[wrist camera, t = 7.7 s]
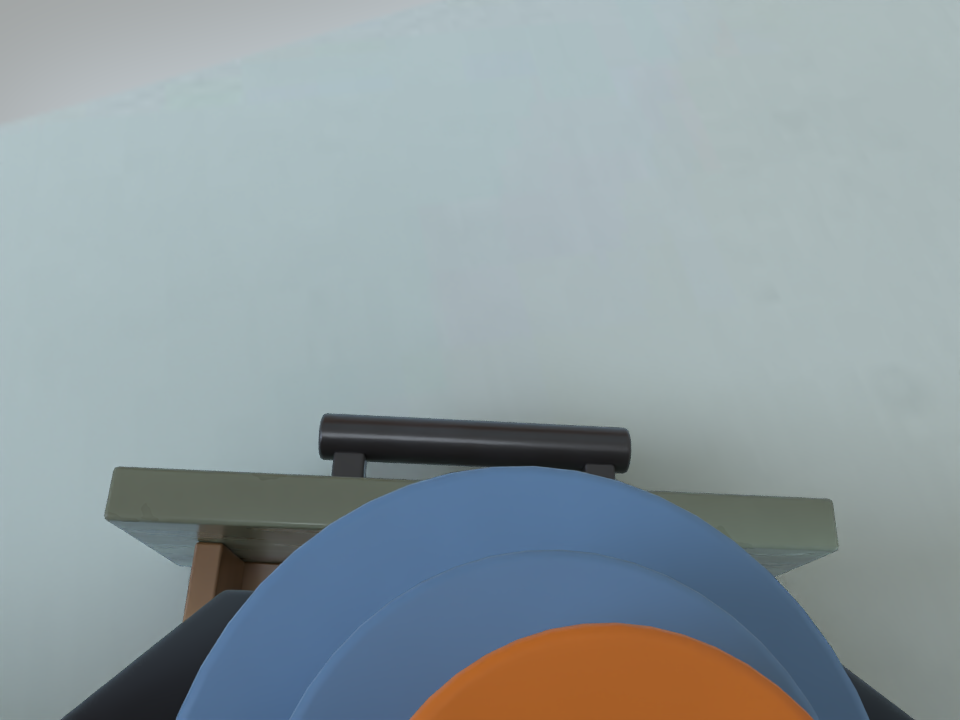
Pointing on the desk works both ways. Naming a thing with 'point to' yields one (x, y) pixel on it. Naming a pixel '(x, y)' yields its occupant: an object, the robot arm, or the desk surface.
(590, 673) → the glue bottle
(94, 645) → the desk surface
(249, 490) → the drawer
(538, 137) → the desk surface
